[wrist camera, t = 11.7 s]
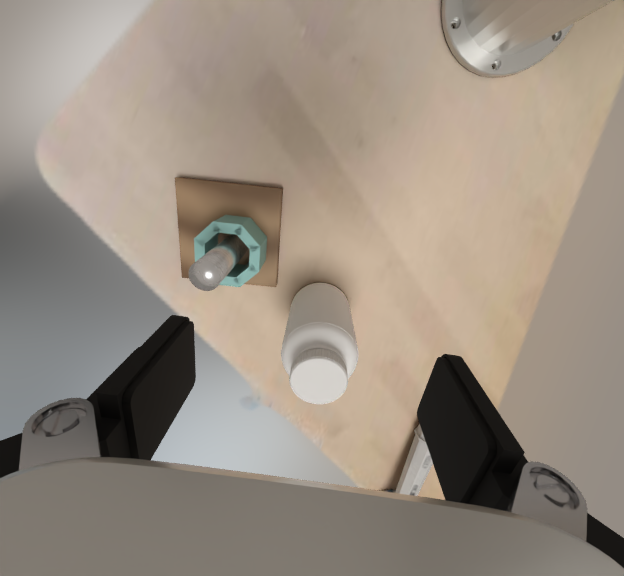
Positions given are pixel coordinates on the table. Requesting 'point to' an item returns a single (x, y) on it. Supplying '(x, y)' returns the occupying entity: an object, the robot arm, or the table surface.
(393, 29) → the table surface
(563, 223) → the table surface
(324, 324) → the pill bottle
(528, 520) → the robot arm
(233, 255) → the grey metal peg
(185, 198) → the board
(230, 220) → the ring
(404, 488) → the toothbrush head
